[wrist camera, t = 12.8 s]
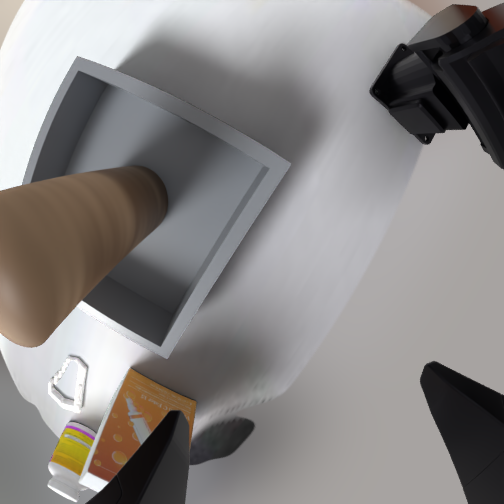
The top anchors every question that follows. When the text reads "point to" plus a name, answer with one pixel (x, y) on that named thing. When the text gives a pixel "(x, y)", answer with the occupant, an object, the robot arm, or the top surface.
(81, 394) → the saw cookie cutter
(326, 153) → the top surface
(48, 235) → the brown cylinder
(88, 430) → the supplement bottle
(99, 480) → the small box
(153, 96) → the grey tote
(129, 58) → the top surface
